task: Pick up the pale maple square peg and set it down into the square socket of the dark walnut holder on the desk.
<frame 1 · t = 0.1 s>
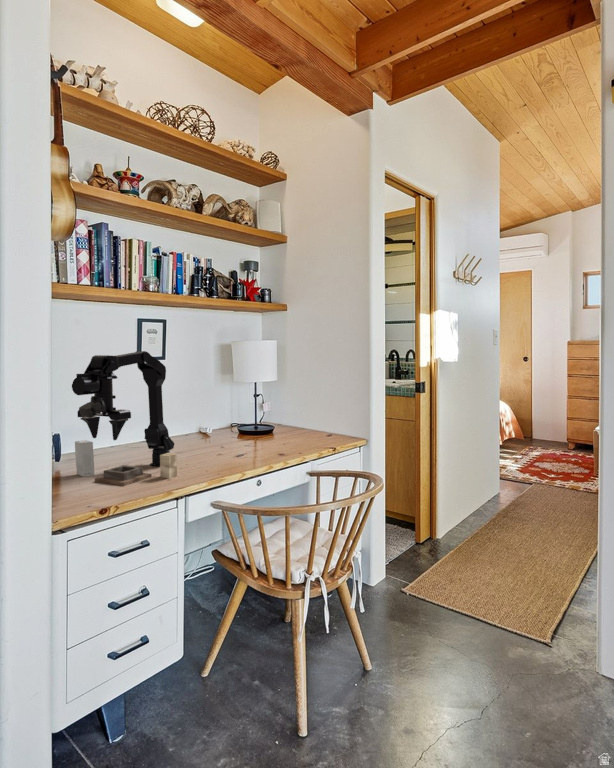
hand: (104, 439, 166), 15 cm above the table, fingers open, 9 cm apart
maple peg: (168, 476, 174), on the table
socket holder: (123, 479, 171), on the table
skincare box: (85, 475, 177), on the table
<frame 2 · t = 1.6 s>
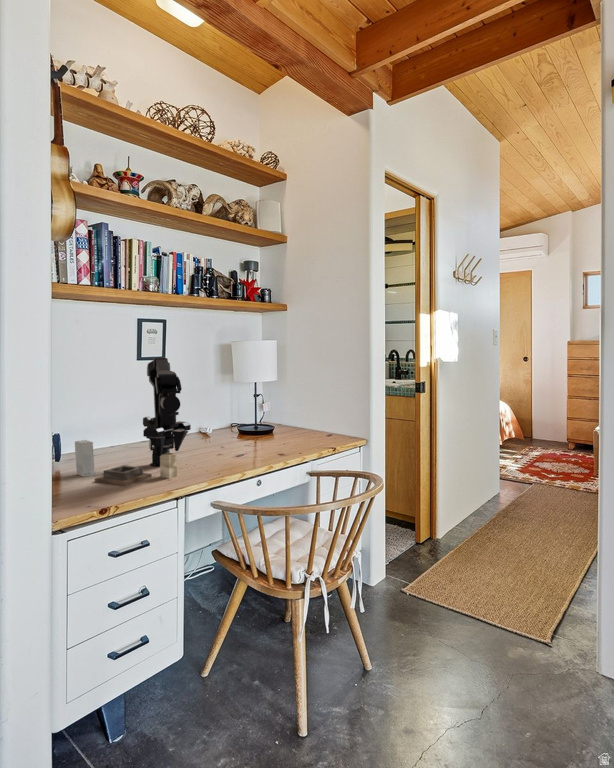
hand: (168, 453, 174), 8 cm above the table, fingers open, 9 cm apart
nothing on the table moved.
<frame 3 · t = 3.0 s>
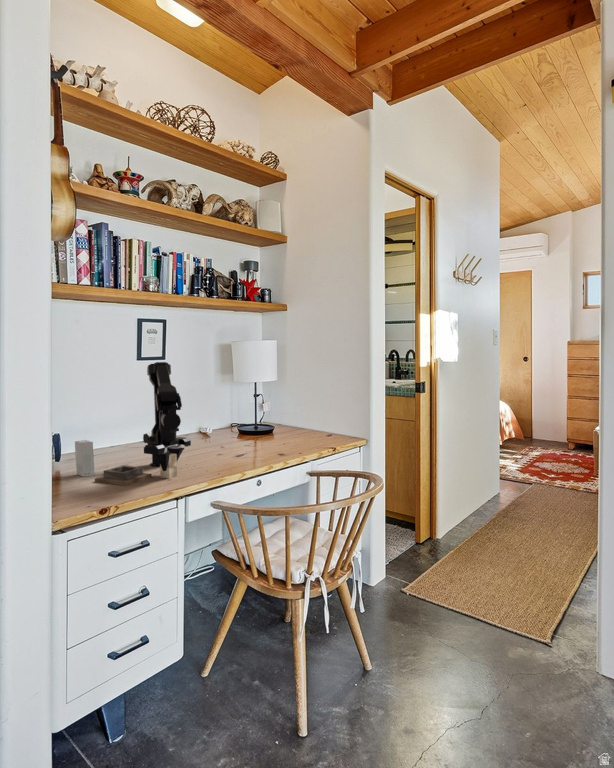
hand: (168, 469, 174), 3 cm above the table, fingers closed on maple peg, 4 cm apart
maple peg: (168, 476, 174), on the table, touching gripper
everything else where it was.
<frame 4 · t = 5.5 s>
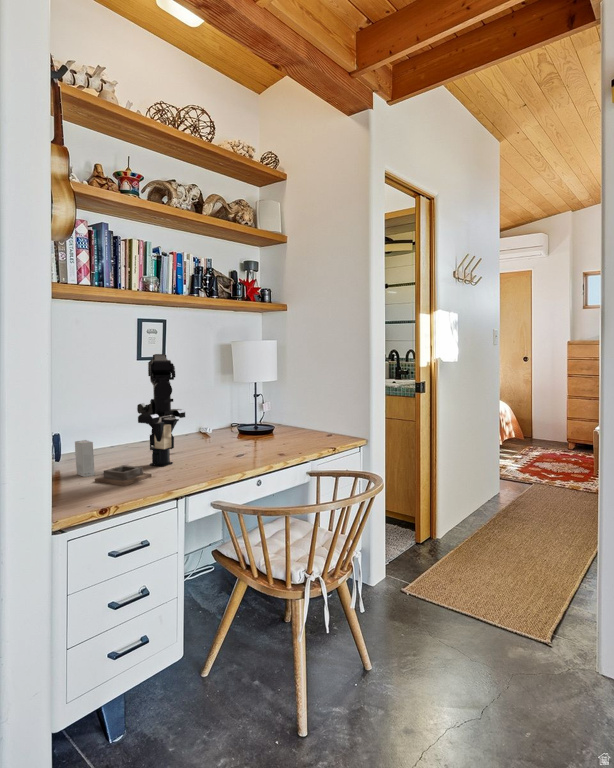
hand: (162, 440, 173), 13 cm above the table, fingers closed on maple peg, 4 cm apart
maple peg: (163, 447, 173), point 10 cm above the table, touching gripper
everything else where it was.
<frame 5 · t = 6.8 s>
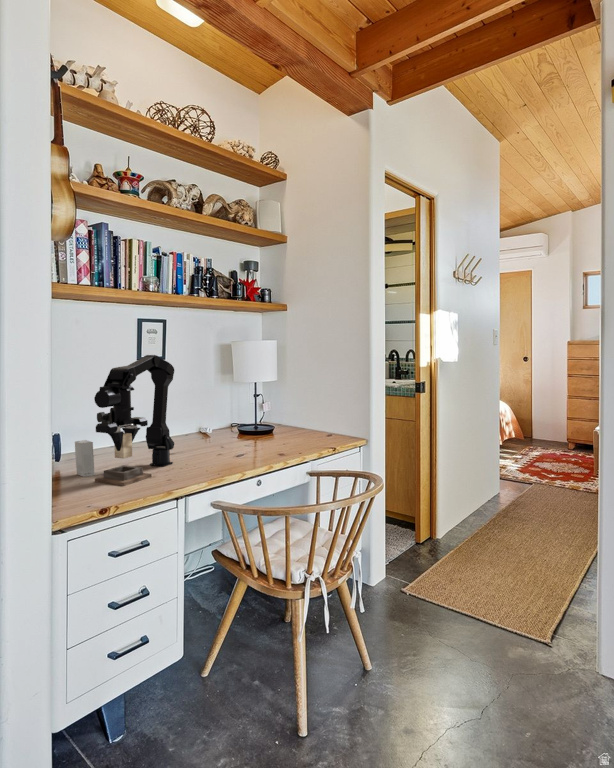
hand: (123, 449, 170), 10 cm above the table, fingers closed on maple peg, 4 cm apart
maple peg: (123, 456, 170), point 8 cm above the table, touching gripper
everything else where it was.
when the fingers open (5 cm above the table, at t = 8.0 s): maple peg stays where it is, resting on socket holder.
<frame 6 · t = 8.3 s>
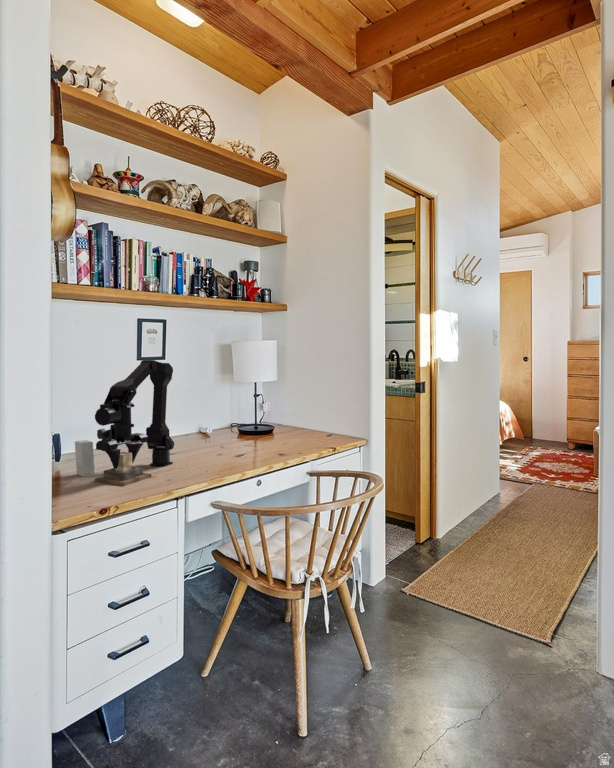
hand: (123, 466, 170), 5 cm above the table, fingers open, 7 cm apart
maple peg: (123, 476, 171), point 1 cm above the table, touching socket holder
everything else where it was.
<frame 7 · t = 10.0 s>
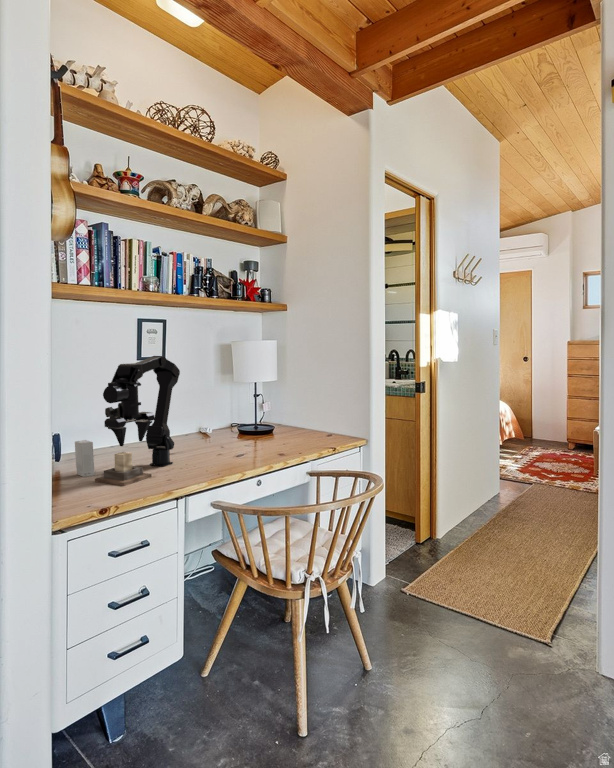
hand: (131, 443, 174), 12 cm above the table, fingers open, 9 cm apart
nothing on the table moved.
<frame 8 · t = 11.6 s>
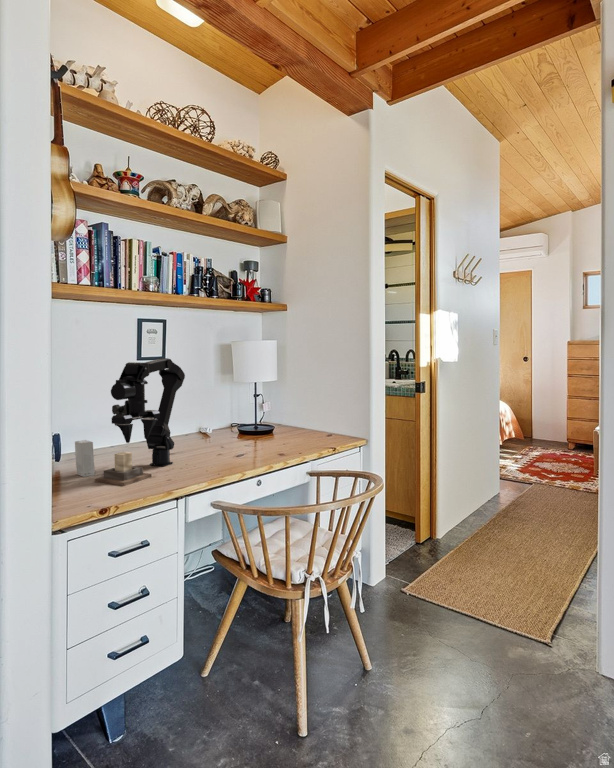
hand: (137, 440, 178), 12 cm above the table, fingers open, 9 cm apart
nothing on the table moved.
at the end: maple peg 0.1 cm off-centre on the socket holder, point 1.0 cm above the socket holder's base; maple peg tilted 0°; the gripper is holding nothing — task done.
